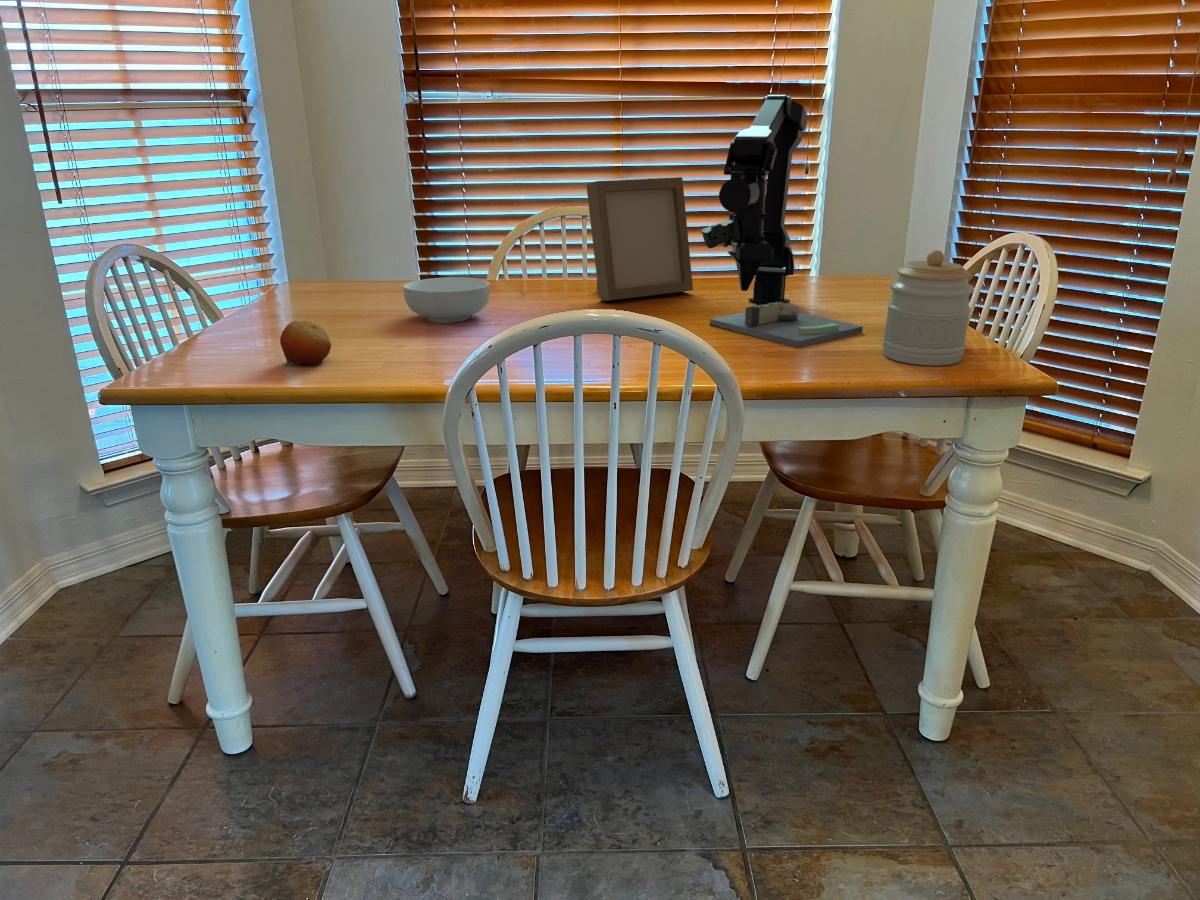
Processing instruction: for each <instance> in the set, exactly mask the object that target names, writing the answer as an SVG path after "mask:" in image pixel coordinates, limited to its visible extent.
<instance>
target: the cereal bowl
mask: <svg viewBox="0 0 1200 900" xmlns="http://www.w3.org/2000/svg"><path fill="white" fill-rule="evenodd" d="M490 287H491V286H490V282H489V281H487V280H485V279H482V278H481V279H480V278H475V277H464V276H463V277H458V276H457V277H456V276H453V277H452V276H450V277H448V276H447V277H435V278H434V277H433V278H426V279H425V278H424V279H420V280H414V281H410V282H407V283H405V284H404V285H403V287H402V289H403V291H402V292H403V296H404V300H405V303H406V305H407V306H408V307H409V309H410V310H411V311H412V312H413V313H415V314H417V315H419V316H422V317H425V318H427V319H428V321H430V322H433V323H441V324H442V323H443V324H444V323H445V324H446V323H447V324H448V323H449V324H450V323H459V322H464V321H466V320H468V319H469V318H470V316H473V315H476V314H477V313H479V312H480V311H482V310H483V309H484V308H485V307H486V305H487V303H489V299H490V295H491V293H490V292H491V291H490V290H491V289H490Z"/></svg>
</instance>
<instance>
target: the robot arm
mask: <svg viewBox="0 0 1200 900" xmlns="http://www.w3.org/2000/svg"><path fill="white" fill-rule="evenodd" d="M761 104H762V106H761V107H760V109H759V111H758V113H757V115H756V116H755V118H754V119H753V122H752V123H751V125H750V127H748V128H745V129H743V130H742V129H741V130H740V131H739V132H738V133H737V134H736V135H735V136H734V138H733V140H732V141H731V143H730V145H729V148H728V149H729V150H728V153H727V157H726V161H725V165H724V169H723V175H725V176H730V179H728V180H726V181H724V183H723V184H722V185H721V187H720V190H719V192H718V199H719V202H720V203H719V204H721V206H722V208H724V209H725V210H727V211H728V212H729V216H728V219H727V220H724V221H720V222H717V223H715V224H712V225H710V226H709V225H708V227H707V226H706V227H705V228H702V229H701V230H700V231H701V232H700V233H701V235H702V238H703V241H704V244H705V247H707V248H708V249H714V248H716V247H717V246H719V245H721V246H722V247H724V248H728V246H731V250H728V251H727V254H728V255H729V256H731V257H732V259H733V260H734V261H735V265H736V269H737V275H738V281H739V287H740V290H741V291H742V292H747V291H748V290H749V288H750V286H751V285H752V282H753V280H754V279H755V280H754V282H753V292H752V293H753V295H752V297H751V298H748V302H752V303H757V304H759V305H763V304H769V303H774V302H783V303H790V299H788V298H785V295H786V294H785V292H786V283H787V282H786V280H787V277H789V276H793V275H795V256H794V253H793V249H792V246H791V238H790V236H789V234H788V231H787V229H786V227H785V220H786V212H787V211H786V210H787V203H788V195H789V194H788V193H789V186H790V185H789V183H790V177H791V169H792V168H791V167H792V161H793V153H794V152H795V151H796V149H797V148H798V147H799V145H800V144H801V142H802V140H803V134H804V131H806V129H807V123H808V113H807V111H806V108H805V106H804V105H803V104H801V103H798V102H797V101H795V100H793V99H792V97H791V95H787V94H768V95H766V96H765V95H764V97H763V99H762V103H761Z"/></svg>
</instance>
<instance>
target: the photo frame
mask: <svg viewBox="0 0 1200 900" xmlns="http://www.w3.org/2000/svg"><path fill="white" fill-rule="evenodd" d="M586 194H587V202H588V211H589V219H590V231H591V238H592V239H591V240H592V246H593V255H594V256H593V257H594V263H595V273H596V291H598V299H601V300H605V301H604V302H606V301H614V300H615V301H617V300H624V299H632V298H640V297H641V298H642V297H648V296H658V295H665V294H674V293H682V292H690V291H694V288H693V287H694V284H693V275H692V265H691V264H692V263H691V255H690V242H689V232H688V231H689V230H688V222H687V213H686V201H685V200H686V199H685V192H684V180H683V177H681V176H678V177H677V176H676V177H661V178H660V177H657V178H654V177H653V178H636V179H616V180H615V179H613V180H612V179H611V180H597V181H592V182H590V183H587V184H586Z"/></svg>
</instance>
